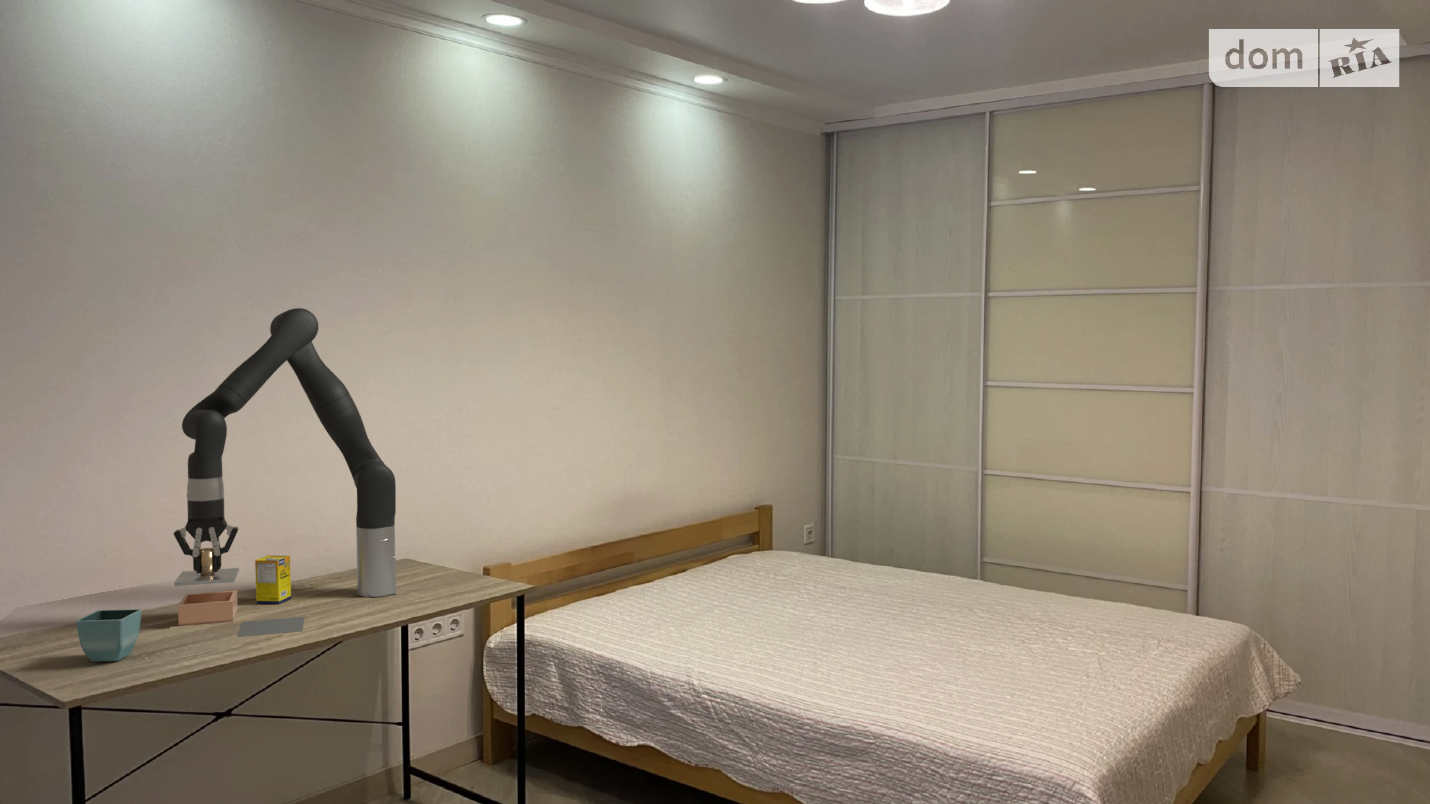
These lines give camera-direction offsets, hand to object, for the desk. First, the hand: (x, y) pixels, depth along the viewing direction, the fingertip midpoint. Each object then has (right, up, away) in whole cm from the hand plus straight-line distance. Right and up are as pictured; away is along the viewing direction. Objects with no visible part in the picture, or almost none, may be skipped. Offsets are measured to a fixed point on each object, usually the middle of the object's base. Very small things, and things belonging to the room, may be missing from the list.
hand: (207, 571), depth 235 cm
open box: (0, -11, +1) cm, 11 cm away
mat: (+18, -11, -7) cm, 22 cm away
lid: (0, -2, 0) cm, 2 cm away
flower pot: (-5, -13, -29) cm, 32 cm away
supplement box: (+8, -10, +17) cm, 22 cm away
